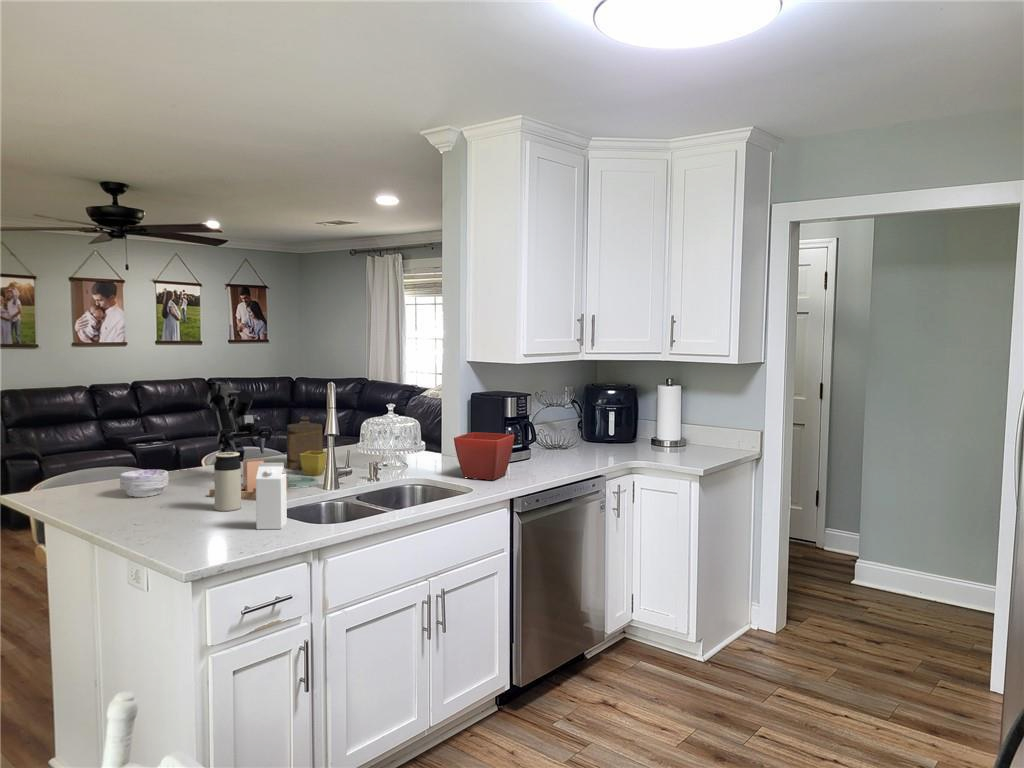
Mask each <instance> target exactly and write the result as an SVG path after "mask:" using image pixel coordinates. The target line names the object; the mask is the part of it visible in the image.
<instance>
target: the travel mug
mask: <svg viewBox="0 0 1024 768" xmlns="http://www.w3.org/2000/svg"><path fill="white" fill-rule="evenodd" d="M239 455H240V453H238V452H222V453H219V452H217V453H215V454H214V456H215V459H216V460H215V462H214V464H213V468H214V470H213V472H214V474H213V475H214V477H213V478H214V483H213V484H214V489H215V497H214V509H215V511H218V512H233V511H238V510H239V509H241V508H242V499H241V488H242V487H241V483H242V477H241V475H242V468H241V467H242V465H241V462H240V461H239V459H238V458H239Z"/></svg>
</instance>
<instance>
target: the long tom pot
mask: <svg viewBox="0 0 1024 768" xmlns="http://www.w3.org/2000/svg"><path fill="white" fill-rule="evenodd" d="M259 463H265V462H264V459H261V458H259V457H255V458H254V457H253V458H244V459H243V462H242V472H243V473H242V478H243V479H242V481H243V482H242V483H243V487H242V489H244V491H247V492H253V488H256V476H257V472H258V468H259Z"/></svg>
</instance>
